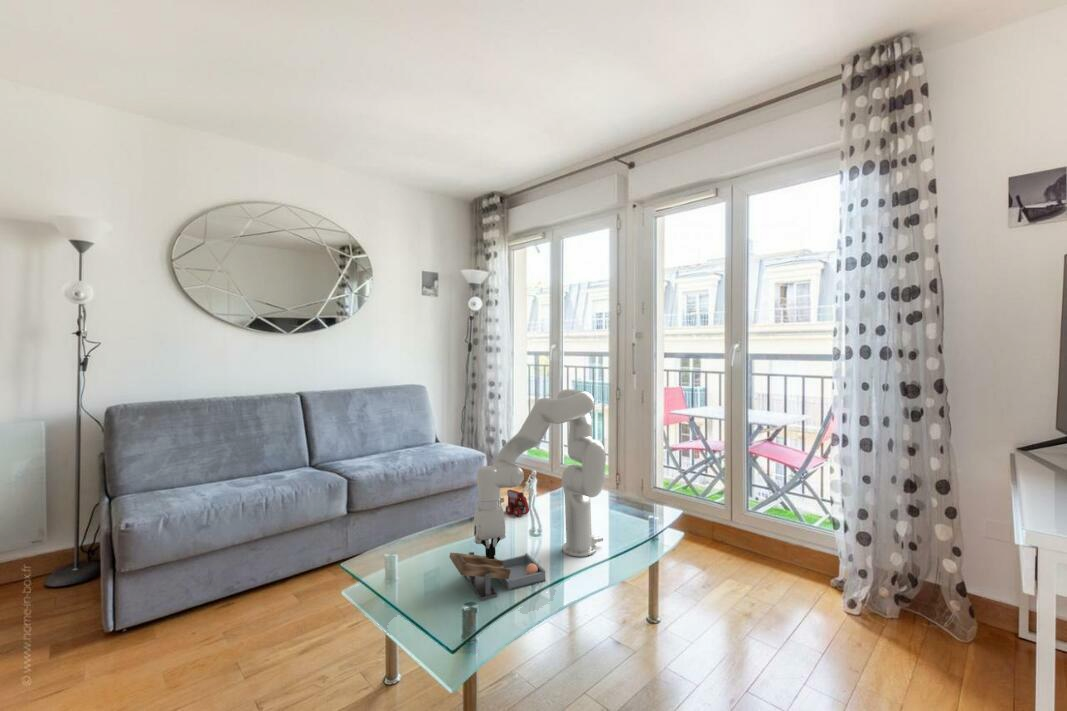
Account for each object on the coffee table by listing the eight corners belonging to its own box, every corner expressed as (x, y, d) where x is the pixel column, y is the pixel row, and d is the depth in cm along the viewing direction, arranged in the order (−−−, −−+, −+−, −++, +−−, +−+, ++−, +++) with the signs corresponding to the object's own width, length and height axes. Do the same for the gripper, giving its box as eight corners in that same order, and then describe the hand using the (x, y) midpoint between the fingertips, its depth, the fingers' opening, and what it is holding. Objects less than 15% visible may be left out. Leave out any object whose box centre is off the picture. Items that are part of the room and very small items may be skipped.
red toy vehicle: (522, 518, 211) (521, 495, 211) (503, 513, 220) (502, 490, 220) (532, 514, 216) (531, 492, 216) (513, 509, 225) (513, 487, 225)
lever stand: (478, 571, 161) (477, 550, 161) (496, 597, 144) (495, 572, 144) (464, 575, 159) (463, 553, 159) (481, 601, 142) (480, 576, 142)
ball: (537, 566, 159) (529, 558, 158) (542, 570, 155) (534, 563, 154) (529, 575, 158) (521, 568, 157) (534, 581, 154) (526, 573, 153)
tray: (527, 562, 167) (526, 553, 167) (545, 581, 153) (545, 570, 153) (492, 570, 162) (492, 560, 162) (508, 590, 148) (508, 579, 148)
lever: (493, 561, 162) (495, 550, 162) (509, 579, 148) (511, 568, 149) (448, 556, 155) (451, 545, 156) (461, 575, 142) (464, 563, 142)
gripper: (505, 497, 165) (507, 549, 165) (464, 504, 159) (465, 558, 159) (514, 503, 158) (515, 558, 158) (471, 510, 152) (472, 567, 152)
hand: (490, 558), depth 159 cm, fingers closed
